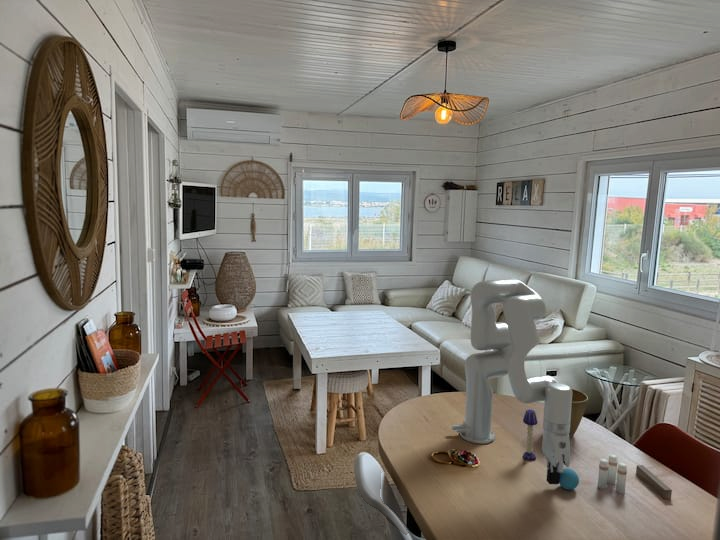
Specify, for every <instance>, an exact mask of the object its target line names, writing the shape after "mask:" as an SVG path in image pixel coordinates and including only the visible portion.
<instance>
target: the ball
mask: <svg viewBox="0 0 720 540" xmlns="http://www.w3.org/2000/svg"><path fill="white" fill-rule="evenodd" d="M579 483H580V478H579V475H578V473H577V472H576V471H575V470H574V469H572V468H569V467H565V468H564V467H563V473H560V477H559V484H558V485H560V487H562V488H563V489H565V490H569V491H570V490H574V489H577V487H578V486H579Z"/></svg>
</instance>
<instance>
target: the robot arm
mask: <svg viewBox="0 0 720 540" xmlns="http://www.w3.org/2000/svg"><path fill="white" fill-rule="evenodd" d="M470 303H471V322H470V323H471V324H470V343H471V344H470V345H471V346H472V348H473V349H474V350H476V351H484V352H476V353H473V354H470V355H469V356H467V357H466V358H465V360H464V373H465V381H466V383H465V384H466V386H465V412H464V413H465V414H464V421H462V423H460V424H452V425H451V430H452V431H456V433H459V434H460V435H459V436H460V437H461V438H462V439H463V440H465V441H467V442H470V443H473V444H477V445H478V444H481V445H482V444H483V445H485V444H490V443H492V442H494V441H495V438H496V433H495V432H494V431H492V416H493V397H494V393H493V392H494V391H493V387H492V386H491V383H489V380H491V379H495V378H500V377H505V376H507V375H508V380H509V383H510V387H511V390H512V393H513V395H514V396H515V398H516V399H517V400H518V401H519V402H520V403H522V404H531V403H535V402H536V403H537V402H543V401H544V405H543V421H542V422H543V423H542V429H543V434H542V441H541V443H542V444H541V446H542V447H541V451H542V454H543V456H544V457H545V459H546V467H547V468H546V469H547V470H546V482H547V483H548V485H560V484H559V477H560V473H563V469H564V465H565V468H569V467H570V463H571V442H570V441H571V438H569V433H570V420H571V406H572V389H573V388H571V386H569V385H567V384H565V383H561V382H559V381H558V380H557V379H556V378H554V377H553V376H552V375H548V374H541V375H536V376H535V375H534V376H529V377H527V375H526V369H525V362H526V358H527V356H528V355H529V353H530V352H531V351H532V350H533V349H534V348H536V347H537V346H538V345H539V344H540V342H541V339H540V335H539V331H538V330H537V326H536V321H535V320H541V319H543V318H544V317H545V315H546V311H547V307H546V303H545V301H544V300H543V298H542V297H541V296H540V295H539V294H538V293H537V292H536V291H535V290H534V289H532V288H530V287H529V286H528V285H526V283H524V282H522V280H519V279H517V278H508V279H506V278H504V279H489V280H483V281H482V280H481V281H479V282H477V283H475V284H474V285H473V287H472V288H471V290H470ZM494 305H502V311H503V315H504V319H505V322H502V321H499V322H498V321H497V311H496V309H495V307H494ZM491 350H492V351H491Z"/></svg>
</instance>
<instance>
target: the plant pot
mask: <svg viewBox="0 0 720 540" xmlns="http://www.w3.org/2000/svg"><path fill="white" fill-rule="evenodd" d="M571 389H572V406H571V420H570V433H569V439H572V438H573V437H574V435H575V434H576V432H577V430H578V428H579V426H580V424H581V422H582V419H583V416H584V413H585V411H586V406H587V404H588V400H589V397H588V395H587V394H586V393H584V392H583V391H580V390H578V389H574V388H571Z"/></svg>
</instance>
